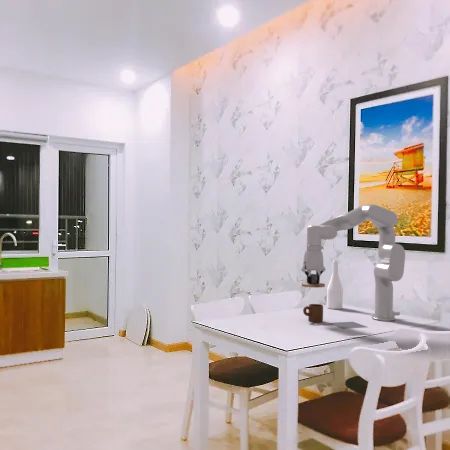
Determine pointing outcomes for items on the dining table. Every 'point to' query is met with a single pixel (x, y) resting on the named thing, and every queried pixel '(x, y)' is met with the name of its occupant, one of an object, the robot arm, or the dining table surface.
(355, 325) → the rubber mat
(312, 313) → the mug
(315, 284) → the copper lid
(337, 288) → the wine bottle
